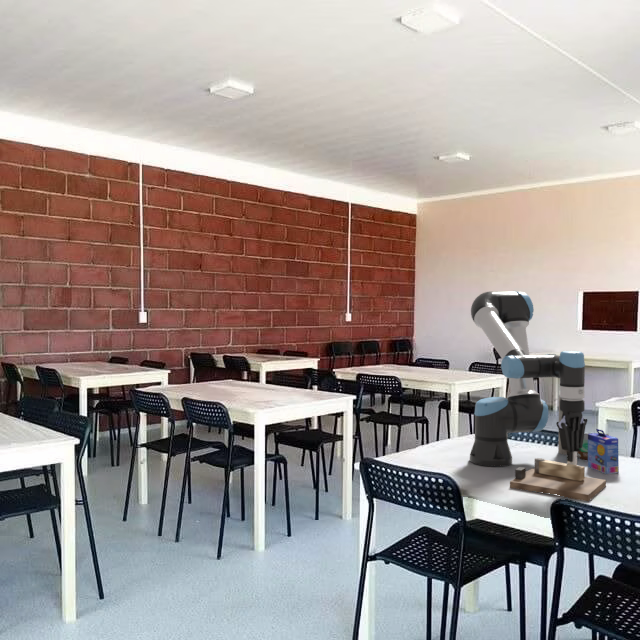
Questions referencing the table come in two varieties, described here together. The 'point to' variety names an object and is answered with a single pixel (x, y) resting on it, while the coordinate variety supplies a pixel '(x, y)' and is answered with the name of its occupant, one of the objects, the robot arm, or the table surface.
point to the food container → (584, 448)
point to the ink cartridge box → (603, 453)
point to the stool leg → (559, 469)
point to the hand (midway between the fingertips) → (572, 470)
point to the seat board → (557, 484)
